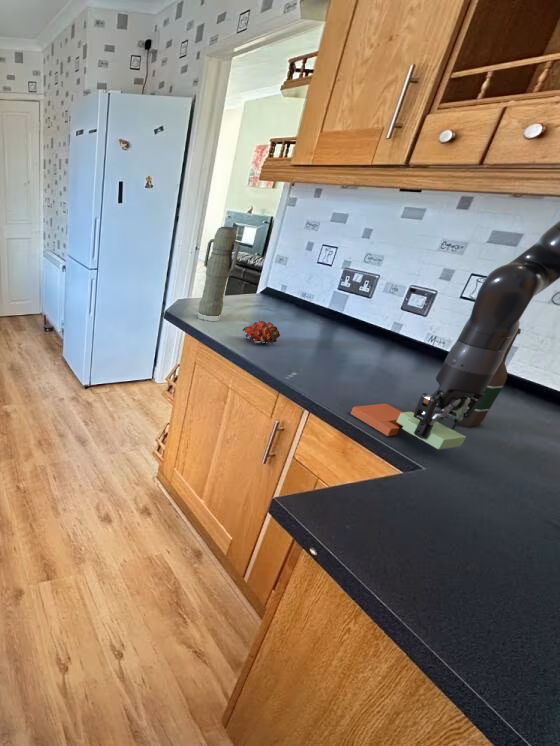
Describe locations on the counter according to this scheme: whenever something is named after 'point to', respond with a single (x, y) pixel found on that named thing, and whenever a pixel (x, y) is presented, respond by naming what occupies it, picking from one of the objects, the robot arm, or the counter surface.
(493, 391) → the beer bottle
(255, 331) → the dragon fruit
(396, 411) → the orange pad
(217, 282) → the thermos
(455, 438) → the sage pad
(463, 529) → the counter surface
